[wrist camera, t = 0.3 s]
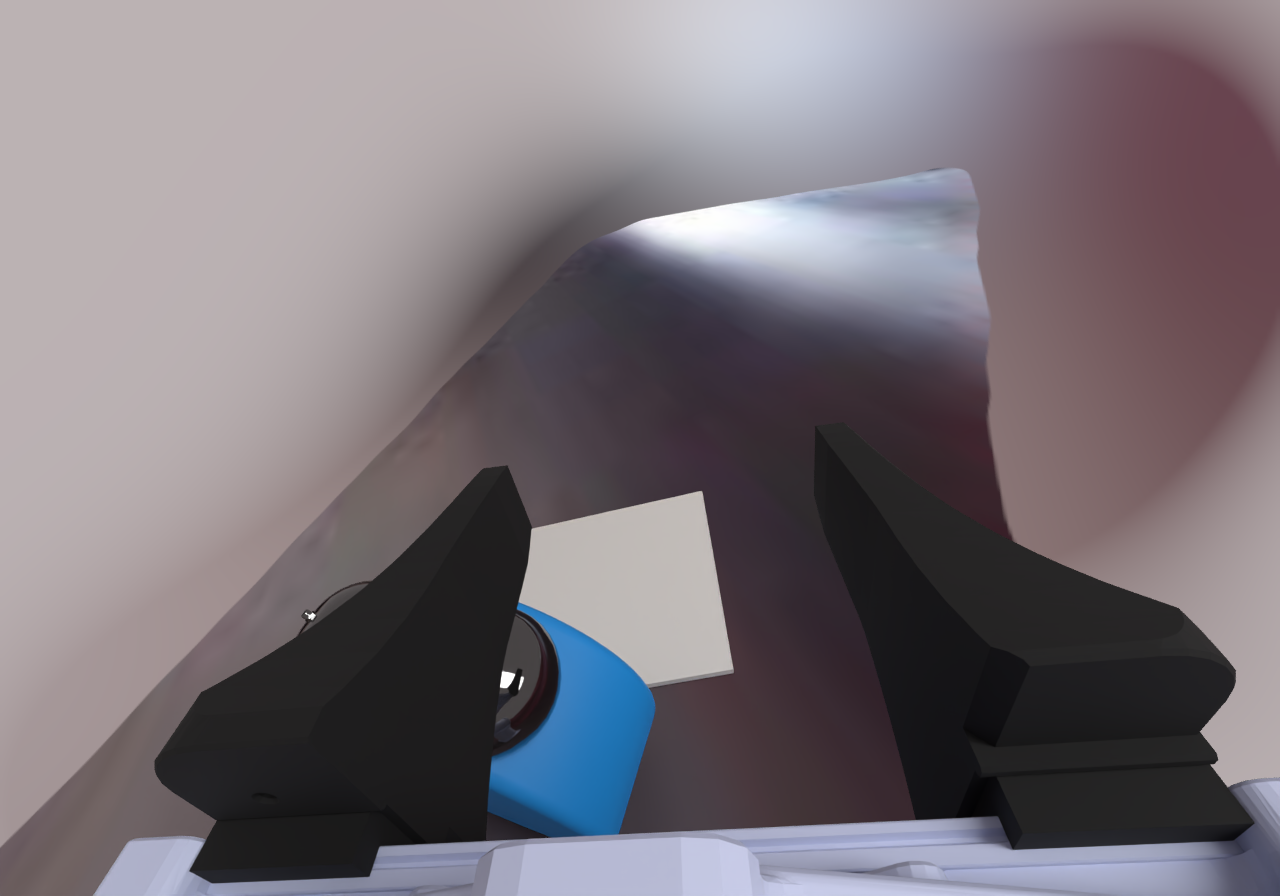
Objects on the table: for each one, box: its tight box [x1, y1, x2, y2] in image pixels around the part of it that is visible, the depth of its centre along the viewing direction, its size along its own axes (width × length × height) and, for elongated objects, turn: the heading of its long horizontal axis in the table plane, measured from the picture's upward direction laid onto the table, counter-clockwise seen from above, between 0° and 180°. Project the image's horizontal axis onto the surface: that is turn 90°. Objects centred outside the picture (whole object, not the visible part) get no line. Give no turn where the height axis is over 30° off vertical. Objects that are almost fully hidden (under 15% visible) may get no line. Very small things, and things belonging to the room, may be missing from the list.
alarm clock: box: [296, 581, 655, 838], centre depth 24 cm, size 13×6×15 cm, turn 70°
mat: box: [519, 491, 734, 688], centre depth 37 cm, size 14×20×1 cm
